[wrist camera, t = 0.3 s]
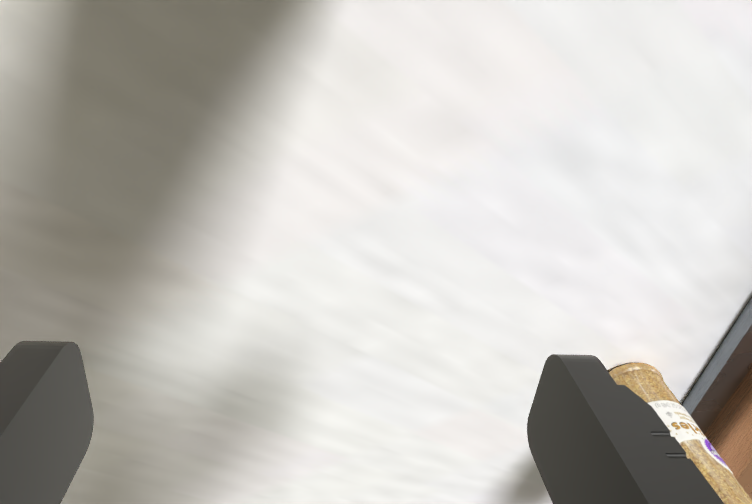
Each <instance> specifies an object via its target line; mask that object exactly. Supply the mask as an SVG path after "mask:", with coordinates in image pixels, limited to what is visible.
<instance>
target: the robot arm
mask: <svg viewBox="0 0 752 504" xmlns="http://www.w3.org/2000/svg"><path fill="white" fill-rule="evenodd" d="M92 430H93V409H92V404H91V399H90V394H89V390H88V385H87V380H86V375H85V370H84V366H83V361H82V356H81V352H80V349H79V347H78V346H77V344H75V343H74V342H46V341H22V342H19V343H18V344H17V345H15V346H14V347H13V349H12V350H11V351H10V352H9V353H8V355H7V356H6V357H5V358H4V359H3V360H2V362H1V363H0V504H60V503H61V501H62V499H63V497H64V495H65V493H66V491H67V489H68V487H69V485H70V483H71V481H72V479H73V477H74V475H75V473H76V471H77V469H78V467H79V465H80V463H81V461H82V459H83V457H84V455H85V453H86V451H87V449H88V446H89V443H90V440H91V436H92ZM527 434H528V442H529V447H530V450H531V453H532V456H533V458H534V460H535V463H536V465H537V467H538V470H539V472H540V474H541V477H542V479H543V481H544V484H545V486H546V488H547V491H548V493H549V496H550V498H551V500H552V503H553V504H724V503H723V501H722V500H721V499H720V497H719V496H718V495H717V493H716V492H715V491H714V489H713V488H712V486H711V485H710V484H709V482H708V481H707V480H706V478H705V477H704V476H703V474H702V473H701V472H700V470H699V469H698V468H697V466H696V465H695V464H694V462H693V461H692V460H691V458H687V457H686V452H685V450H684V449H683V448H682V446H681V445H680V444H679V442H678V441H677V440H676V438H675V437H671V435H670V430H669V429H668V428H667V426H666V425H665V424H664V422H663V421H662V420H661V418H660V417H659V416H658V414H657V413H656V412H655V410H654V409H653V408H652V406H650V405H649V404H648V403H647V402H645V401H644V400H643V399H642V398H640V397H639V396H638V395H637V394H635V393H634V392H633V391H632V390H630V389H629V388H628V387H627V386H625V385H617V384H616V382H615V381H614V380H613V378H612V377H611V375H610V374H609V372H608V371H607V370H606V368H605V367H604V365H603V364H602V363H601V361H600V360H599V359H598V358H597V357H595V356H592V355H555V354H553V355H551V356H549V357H548V358H547V360H546V362H545V365H544V368H543V371H542V374H541V378H540V381H539V384H538V387H537V391H536V394H535V397H534V400H533V403H532V407H531V410H530V413H529V417H528V423H527Z"/></svg>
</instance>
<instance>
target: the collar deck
mask: <svg viewBox="0 0 752 504" xmlns="http://www.w3.org/2000/svg"><path fill="white" fill-rule="evenodd" d="M682 406H683V407H684V408H685V409H686V411H687V412H688V413H689V415H690V416H691V417H692V419H693V420H694V421H695V423H696V424H697V426H698V427H699V428H700V430H701V431H702V433H703V434H704V435H705V437H706V438H707V439H708V441H709V442H710V443H711V445H712V446H713V447H714V449H715V450H716V451H717V453H718V454H719V455H720V457H721V458H722V459H723V461H724V462H725V463H726V465H727V466H728V467H729V469H730V470H731V471H732V473H733V475H734V477H735V478H736V480H737V481H738V483H739V484H740V485H741V486H742V487H743V489H744V491H745V492H746V493H747V494H748V495H749V497H750V499H751V500H752V298H751V299H750V301H749V302H748V304H747V305H746V307H745V308H744V310H743V311H742V313H741V314H740V316H739V317H738V319H737V321H736V322H735V324H734V325H733V327H732V328H731V330H730V331H729V333H728V334H727V336H726V337H725V339H724V341H723V342H722V344H721V345H720V347H719V348H718V350H717V351H716V353H715V354H714V356H713V357H712V359H711V360H710V362H709V364H708V365H707V367H706V368H705V370H704V371H703V373H702V374H701V376H700V377H699V379H698V380H697V382H696V383H695V385H694V387H693V388H692V390H691V391H690V393H689V394H688V396H687V397H686V399H685V400H684V402H683V403H682Z"/></svg>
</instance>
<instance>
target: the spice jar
mask: <svg viewBox="0 0 752 504" xmlns="http://www.w3.org/2000/svg"><path fill="white" fill-rule="evenodd" d="M609 374H610V375H611V377H612V378H613V380H614V381H615V382H616V384H617V385H625V386H627V387H628V388H629V389H630V390H632V391H633V392H634V393H635V394H637V395H638V396H639V397H640V398H642V399H643V400H644V401H645V402H647V403H648V404H649V405H650V406H652V408H653V409H654V410H655V412H656V413H657V414H658V416H659V417H660V418H661V420H662V421H663V422H664V424H665V425H666V426H667V428H668V429H669V430H670V435H671V437H675V438H676V440H677V441H678V442H679V444H680V445H681V446H682V448H683V449H684V450H685V452H686V457H687V458H691V460H692V461H693V462H694V464H695V465H696V466H697V468H698V469H699V470H700V472H701V473H702V474H703V476H704V477H705V478H706V480H707V481H708V482H709V484H710V485H711V486H712V488H713V489H714V491H715V492H716V493H717V495H718V496H719V497H720V499H721V500H722V501H723V503H724V504H752V500H751V499H750V497H749V495H748V494H747V493H746V492H745V491H744V489H743V487H742V486H741V485H740V484H739V483H738V481H737V480H736V478H735V477H734V475H733V473H732V471H731V470H730V469H729V467H728V466H727V465H726V463H725V462H724V461H723V459H722V458H721V457H720V455H719V454H718V453H717V451H716V450H715V449H714V447H713V446H712V445H711V443H710V442H709V441H708V439H707V438H706V437H705V435H704V434H703V433H702V431H701V430H700V428H699V427H698V426H697V424H696V423H695V421H694V420H693V419H692V417H691V416H690V415H689V413H688V412H687V411H686V409H685V408H684V407H683V406H682V405H681V404H680V403H679V401H678V400H677V399H676V397H675V396H674V394H673V393H672V392H671V391H670V390H669V388H668V387H667V385H666V384H665V382H664V381H663V378H662V375H661V374H660V372H659V371H658V370H657V369H655V368H654V367H653V366H650V365H648V364H644V363H629V364H625V365H621V366H619V367H616V368H615V369H613V370H611V371H610V372H609Z"/></svg>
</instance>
